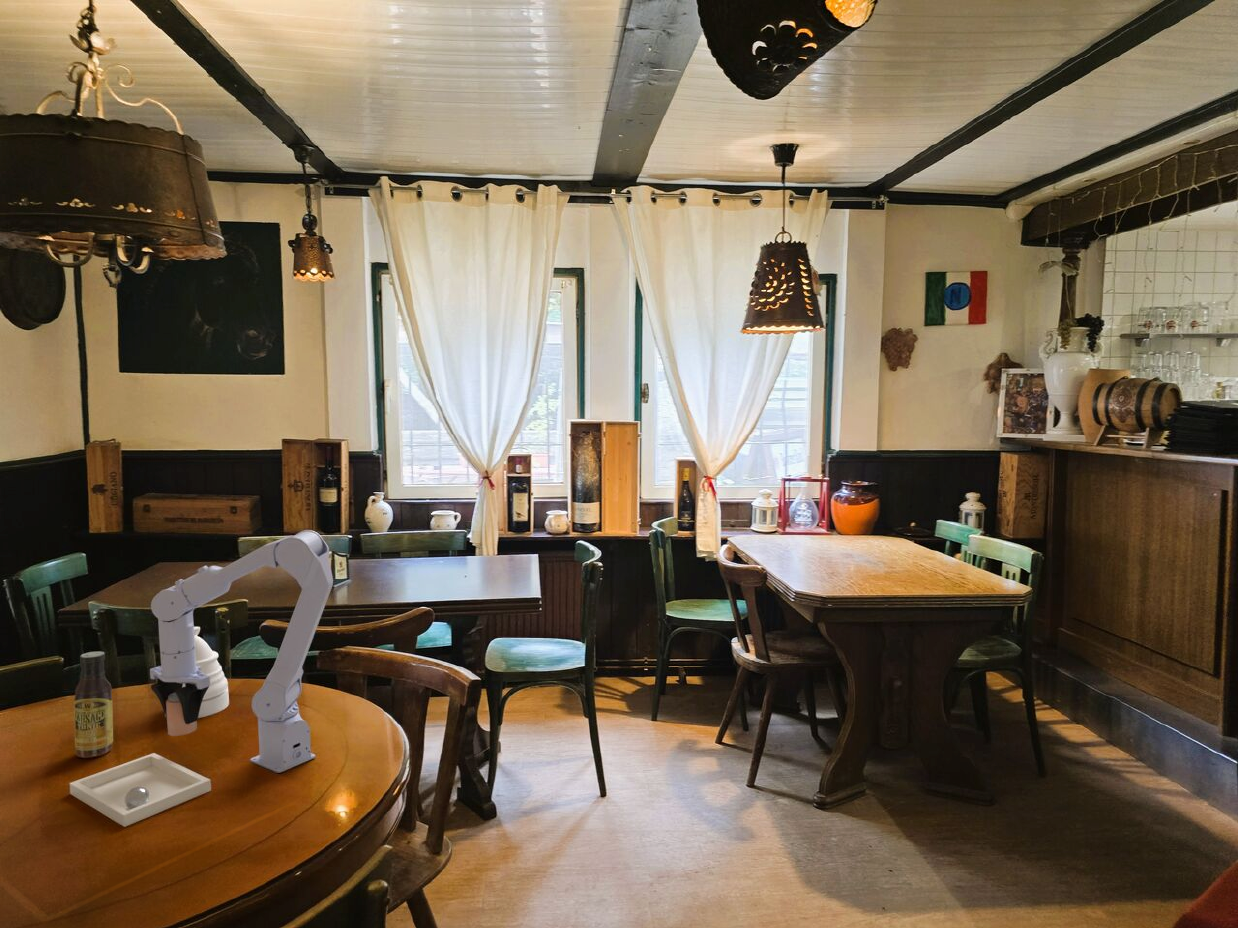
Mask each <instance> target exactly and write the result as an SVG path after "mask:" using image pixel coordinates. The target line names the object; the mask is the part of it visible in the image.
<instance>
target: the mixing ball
mask: <svg viewBox="0 0 1238 928" xmlns="http://www.w3.org/2000/svg"><path fill="white" fill-rule="evenodd" d="M148 800H149V792H148V790H147V789H145V788H144V787H135V788H133V789H131V790H130V791H129V792H128V793H127V794H126V796H125V804H126V806H127V807H128V808H130V809H133V808H136V807H138V806H141V805H143V804H146V803H147V802H148Z"/></svg>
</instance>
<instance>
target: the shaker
mask: <svg viewBox="0 0 1238 928" xmlns="http://www.w3.org/2000/svg"><path fill="white" fill-rule="evenodd" d="M166 710H167V718H166V720H167V721H166V723H167V724H166V725H167V735H169V736H171V737H178V736H179V737H180V736H184V735H188V734H191V733H193V732H195V731H196V730H197V729H198V724H197V723H198V720H197V721H195V722H193V723H190V724H185V721H184V717H183V711H182V706H181V703H180V700H179V698H178V696H177V695H176V693H172V694H170V695H169V696H168V699H167V700H166Z"/></svg>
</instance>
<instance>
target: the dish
mask: <svg viewBox="0 0 1238 928" xmlns="http://www.w3.org/2000/svg"><path fill="white" fill-rule="evenodd" d="M211 782H212V781H211V779H210V778H208V777H205V776H203V775H201V774H199V773H197V772H195V771H193V770H190V769H189V768H187V767H185V766H183V765H180V764H178V763H176V762H174V761H172V760H170V759H167V758H166V757H164V756H162V755H159V754H157V753H155V752H153V753H150V754H147V755H144V756H141V757H139V758H136V759H133V760H131V761H128V762H125V763H123V764H120V765H117V766H114V767H111V768H108V769H105V770H102V771H100V772H99V771H98V772H97V773H95V774H91V775H89V776H86V777H83V778H80V779H77V780H74V781H72V782H69V795H71V796H73V797H75V799H78V800H79V801H81V802H83V803H85V804H86V805H88V806H89V807H90V808H93V809H94V810H96V811H97V812H99V813H101V814H102V815H104V816H106V817H108V818H110V819H111V820H112V821H114V822H116V823H117V824H118V825H120V826H122V827H124V828H126V827H127V826H130V825H133V824H135V823H138V822H140V821H142V820H144V819H147V818H149V817H151V816H154V815H156V814H159V813H161V812H164V811H165V810H168V809H171V808H174V807H176V806H178V805H180V804H183V803H185V802H188V801H190V800H192V799H194V798H195V799H196V798H197V797H199V796H202V795H203V794H207V793H208V792H211V791H212V784H211ZM135 787H144V788H145V789H147V790H148V792H149V800H148V802H147V803H146V804H143V805H141V806H138V807H136V808H133V809H130V808H128V807H127V806H126V804H125V796H126V794H127V793H128V792H129V791H130V790H131V789H133V788H135Z"/></svg>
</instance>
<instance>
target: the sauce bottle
mask: <svg viewBox="0 0 1238 928" xmlns="http://www.w3.org/2000/svg"><path fill="white" fill-rule="evenodd" d="M105 660H106V653H105V652H104V651H89V652H86V653H82V654H81V655H80V656H79V663H80V666H81V669H80V671H81V673H80V674H81V675H80V679H79V682H78V684H77V685H76V687H75V691H74V701H73V704H74V705H73V707H74V708H73V709H74V711H73V713H74V715H73V717H74V748H75V754H76V757H78V758H82V759H90V758H91V759H92V758H95V757H101V756H104V755H106V754H107V753H109V752H111V750H112V749H113V743H114V732H113V731H114V725H113V723H114V722H113V719H114V718H113V715H114V714H113V697H112V685H111V683H110V682H109V681H108V679H107V677H106V676H105V674H106V671H105Z"/></svg>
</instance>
